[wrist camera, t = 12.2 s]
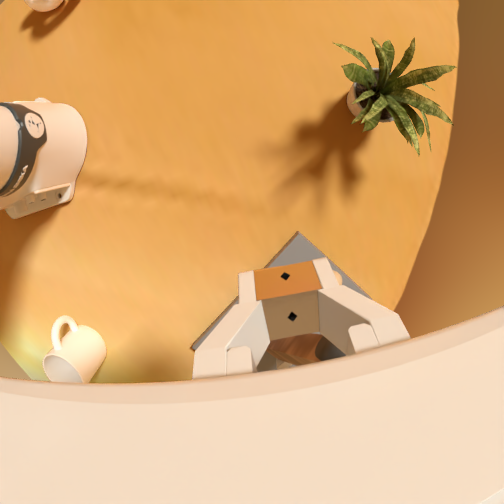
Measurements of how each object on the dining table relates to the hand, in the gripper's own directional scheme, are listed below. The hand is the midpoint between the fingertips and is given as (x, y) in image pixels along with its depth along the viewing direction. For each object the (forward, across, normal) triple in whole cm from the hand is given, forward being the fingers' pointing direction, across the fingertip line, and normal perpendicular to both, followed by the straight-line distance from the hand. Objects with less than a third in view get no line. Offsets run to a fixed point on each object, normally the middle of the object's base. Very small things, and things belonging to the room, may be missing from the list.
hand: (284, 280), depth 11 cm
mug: (+26, +35, +26) cm, 51 cm away
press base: (+25, 0, +28) cm, 37 cm away
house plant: (+33, -15, -1) cm, 36 cm away
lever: (+21, +2, +28) cm, 35 cm away
